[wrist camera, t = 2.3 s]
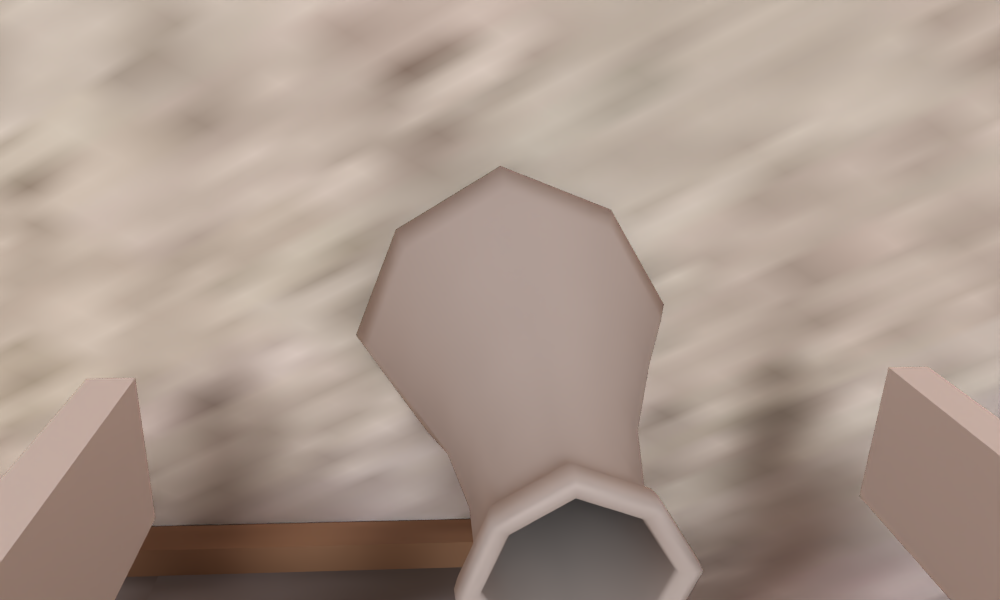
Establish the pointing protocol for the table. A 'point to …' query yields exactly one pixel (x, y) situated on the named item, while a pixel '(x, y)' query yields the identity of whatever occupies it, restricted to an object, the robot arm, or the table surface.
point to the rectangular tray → (301, 561)
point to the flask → (533, 388)
